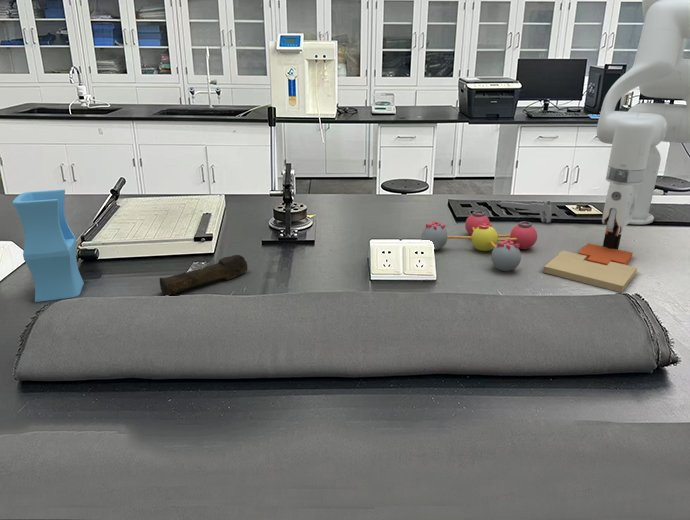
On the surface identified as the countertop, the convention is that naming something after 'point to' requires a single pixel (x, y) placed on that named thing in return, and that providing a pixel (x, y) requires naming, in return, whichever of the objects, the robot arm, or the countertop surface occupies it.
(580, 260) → the notch pad
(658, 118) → the robot arm
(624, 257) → the tab pad
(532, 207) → the caliper
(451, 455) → the countertop surface
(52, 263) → the vase
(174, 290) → the hand tool
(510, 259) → the molecule model
